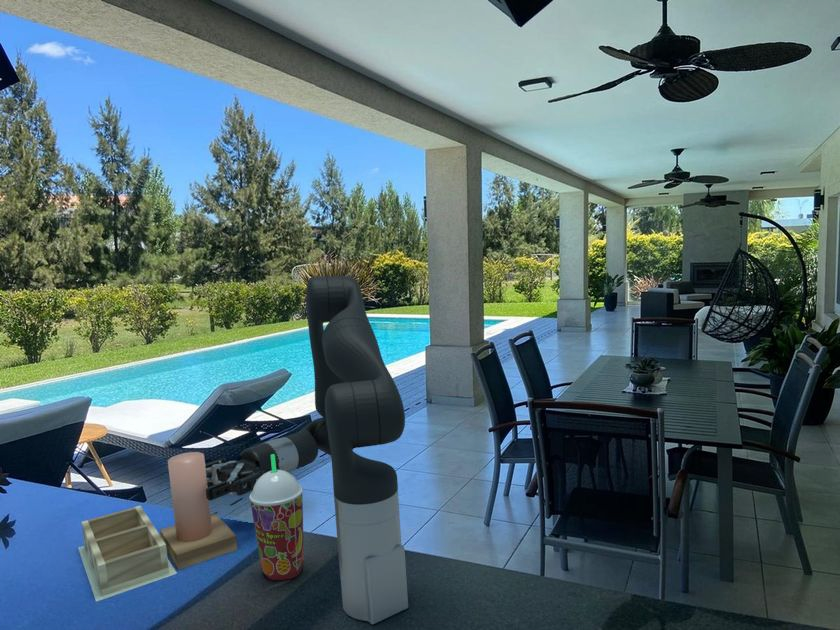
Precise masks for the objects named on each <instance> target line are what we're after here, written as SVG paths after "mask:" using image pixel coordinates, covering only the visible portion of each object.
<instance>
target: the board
mask: <svg viewBox="0 0 840 630" xmlns="http://www.w3.org/2000/svg"><path fill="white" fill-rule="evenodd" d="M210 514H211V523H212V532H211V533H210V534H209V535H208V536H207V537H205V538H202V539H200V540H196V541H191V542H182V541H179V540H178V539H177V537H176V528H175V524H174V525H171V526H168V527H164V528H161V529H159V535H160V536H161V538H162V539H163V541H164V542H165V544H166V549H167V555H168V556H169V557H170V559H171V561H172V562H173V563H174V565H175V567H176V568H177V570H178V571H181V570H183V569H186V568H189V567H192V566H194V565H197V564H200V563H204V562H206V561H210V560H212V559H214V558H217V557H221V556H224V555H226V554H229V553H232V552H235V551H238V541H237V535H236V534H235V533H234V531H233V530H231V528H230V527H229V526H228V525H227V524H226V523H225V522H224V520H222V518H220V516H219V515H217V513H216V512H213V513H210Z"/></svg>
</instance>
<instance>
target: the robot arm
mask: <svg viewBox="0 0 840 630" xmlns="http://www.w3.org/2000/svg"><path fill="white" fill-rule="evenodd" d="M305 302H306V306H305V307H306V316H307V317H306V318H307V326H308V334H309V344H310V349H311V356H312V363H313V372H314V373H313V374H314V406H315V410H316V412H317V414H319V416H321V417H319V418H316V419H313V420H311V422H309V423H308V424H307V425H305V426H303V427H302V428H301V429H300V430H298V431H297V432H294V433H292V434H289V435H285V436H283V437H280V438H274V439H271V440H268V441H265V442H262V443H260V444H256V445H254V446H253V445H252V446H251V447H248V448H245V449H243V450H242V451H241V453H240V454H239V458H238V459H237V460H229V461H227V458H224V457H221V458H219V459H216V460H213V461H210V462H207V463H206V462H205V468H206V477H207V484H208V483H212V484H213V485H210V486H209V487H208V488H207V489H206V498H207V499H208V500H209V502H210V501H213V500H216V499H218V498H220V497H223V496H226V495H234V494H236V496H243V495H245V494H247V493H251V492H252V491H253V488H254V485H255V483H256V481H257V480H258V479H259V478H260V477H261V476H262V475H263V474H265V473H267V472H269V471H271V470H272V465H271V455H272V454H275V462H276V470H283V471H286V472H288V473H290V474H291V472H293V471H296V470H298V469H300V468H303V467H305V466H308V465H309V464H311V463H313V462H315V461H316V459H317V457H318V455H319V450H320V451H321V452H324V453H325V454H326V455H329V456H330V457H331V458H330V460H331V470H332V486H333V499H334V513H335V514H334V515H335V526H336V539H337V551H338V565H339V576H340V577H339V579H340V587H341V598H342V600H341V601H342V608H343V611H344V612H345V614H347V616H350V617H351V618H352V619H356V620H359V621H363V622H364V621H366V622H368V623H369V624H371V625H374V624H377V623H380V622H382V621H383V620H386V619H387V618H389V617H392V616H394V615H396V614H398V613H401V612H402V611H404V610H406V609H408V608H409V601H408V599H409V598H408V597H409V596H408V583H407V570H406V569H407V566H406V554H405V552H406V551H405V550H406V549H405V547H404V546H403V544H402V532H401V531H402V530H401V519H400V518H401V517H400V516H401V515H400V501H399V500H400V499H399V485H398V484H399V483H398V474H397V472H396V470H395V468H394V467H393V466H391V465H390V464H389V463H386V462H383V461H380V460H376V459H370V458H367V457H364V456H361V455H360V454H357V453H355V452H354V449H358V448H365V447H366V448H367V447H373V446H381V445H382V446H383V445H386V444H390V443H394V442H396V441H397V440H399V439H401V437H402V436H403V433H404V430H405V427H406V426H405V425H406V413H405V412H406V411H405V408H404V403H403V399H402V397H401V394H400V392H399V391H400V390H399V388H398V387H397V385H396V382H395V381H394V379H393V377H392V375H391V373H390V372H389V370H388V368H387V366H386V364H385V362H384V359H383V357H382V354H381V350H380V347H379V343H378V339H377V336H376V334H375V332H374V329H373V328H372V325H371V323H370V320H369V317H368V315H367V312H366V307H365V302H364V297H363V292H362V288H361V285H360V283H359V282H358V280H357V279H356V278H355V277H353V276H348V275H335V276H333V275H331V276H330V275H329V276H328V275H327V276H312V277H310V278H309V280H308V282H307V285H306V290H305ZM324 323H327V325H326V327H324ZM218 475H219V477H218ZM245 486H246V487H245Z"/></svg>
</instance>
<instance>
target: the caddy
mask: <svg viewBox="0 0 840 630" xmlns="http://www.w3.org/2000/svg"><path fill="white" fill-rule="evenodd" d="M148 516H149V515H148V514H146V512H145V510H144V509H143V507H142V505H137V506H133V507H130V508H126V509H123V510H119V511H116V512H112V513H108V514H105V515H102V516H98V517H93V518H91V519H86V520H83V521H81V528H82V529H81V530H82V535H83V536H82V537H83V546H85V550H86V552H87V555H88V558H89V561H90V563H91V566H92V569H93V572H94V574H95V577H96V580H97V583H98V586H99V588H100V591H101V594H102V596H104V595H107V594H110V593H113V592H116V591H119V590H122V589H125V588H127V587H130V586H133V585H136V584H139V583H142V582H145V581H148V580H151V579H154V578H157V577H159V576H162V575H165V574H168V573H169V566H168V560H169V559H168V553H167V549H166V544H165V542H164V541H163V539H162V538H161V534H160V532H158V530H157V529H156V527H155V525H154V524H153V522H152V521H151V520H150V518H149V517H148Z"/></svg>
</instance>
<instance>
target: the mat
mask: <svg viewBox="0 0 840 630" xmlns="http://www.w3.org/2000/svg"><path fill="white" fill-rule="evenodd" d="M78 552H79V554H80V559H81V561H82V564H83V567H84V570H85V572H86V576H87V579H88V581H89V585H90V587H91V591H92V593H93V597H94V599H95V602H96V603H97V602H99V601H103V600H106V599H108V598H111V597H114V596H117V595H120V594H122V593H125V592H129V591H131V590H134V589H137V588H140V587H143V586H146V585H148V584H151V583H155V582H157V581H160V580H163V579H166V578H169V577H171V576H174V575H177V574H178V572H177V571H176V569H175V568H174V566H173V565H172V562H171V561H170V560H169V559H168V566H169V573H168V574H165V575H162V576H159V577H157V578H154V579H151V580H148V581H145V582H142V583H139V584H136V585H133V586H130V587H127V588H125V589H122V590H119V591H116V592H113V593H110V594H107V595H104V596H102V594H101V591H100V588H99V586H98V583H97V580H96V577H95V574H94V572H93V569H92V566H91V563H90V561H89V558H88V555H87V552H86V550H85V545H82V546H79V547H78Z"/></svg>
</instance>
